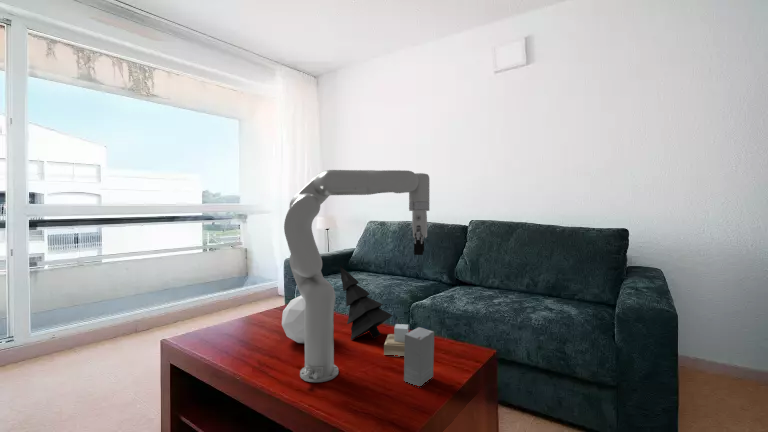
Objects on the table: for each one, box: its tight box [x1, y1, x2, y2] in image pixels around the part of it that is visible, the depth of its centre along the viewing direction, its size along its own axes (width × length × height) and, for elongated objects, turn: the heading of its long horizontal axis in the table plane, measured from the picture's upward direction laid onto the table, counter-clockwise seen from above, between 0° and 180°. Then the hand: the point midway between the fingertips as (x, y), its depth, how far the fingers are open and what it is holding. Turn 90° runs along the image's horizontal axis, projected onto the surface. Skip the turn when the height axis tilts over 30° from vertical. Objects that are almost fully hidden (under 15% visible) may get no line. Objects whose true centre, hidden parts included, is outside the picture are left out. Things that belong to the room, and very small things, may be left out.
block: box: [393, 323, 409, 342], centre depth 140 cm, size 5×5×5 cm
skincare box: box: [403, 326, 435, 387], centre depth 115 cm, size 8×7×16 cm
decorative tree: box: [339, 264, 393, 341], centre depth 158 cm, size 15×15×35 cm
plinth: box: [383, 333, 405, 357], centre depth 141 cm, size 12×12×4 cm
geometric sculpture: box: [281, 294, 305, 344], centre depth 150 cm, size 19×20×20 cm
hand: (419, 253), depth 135 cm, fingers open, 9 cm apart
